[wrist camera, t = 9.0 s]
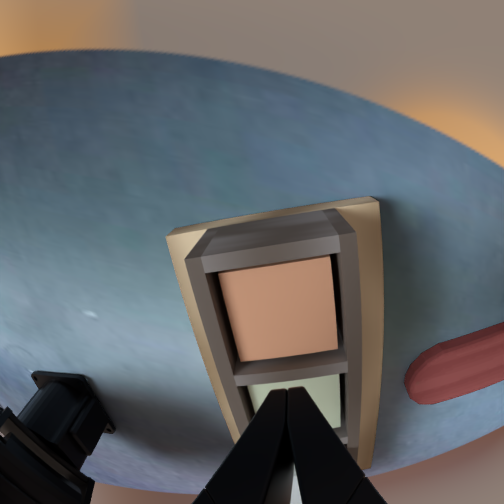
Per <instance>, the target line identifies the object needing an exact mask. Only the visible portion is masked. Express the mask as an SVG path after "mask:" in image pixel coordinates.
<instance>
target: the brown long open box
mask: <svg viewBox="0 0 504 504" xmlns="http://www.w3.org/2000/svg"><path fill="white" fill-rule="evenodd" d="M166 240H167V244H168V247H169V251H170V255H171V258H172V262H173V265H174V269H175V272H176V276H177V279H178V283H179V286H180V290H181V293H182V296H183V300H184V303H185V306H186V309H187V313H188V316H189V319H190V322H191V325H192V328H193V331H194V334H195V337H196V340H197V343H198V346H199V349H200V352H201V355H202V358H203V361H204V364H205V367H206V370H207V373H208V375H209V378H210V381H211V384H212V387H213V389H214V392H215V395H216V397H217V400H218V403H219V405H220V408H221V411H222V413H223V416H224V418H225V421H226V424H227V426H228V429H229V431H230V434H231V436H232V439H233V441H234V443H235V444H236V442H237V441H238V439H239V438H240V436H241V435H242V433H243V432H244V430H245V429H246V427H247V426H248V424H249V423H250V421H251V420H252V418H253V417H254V415H255V411H254V408H253V404H252V401H251V397H250V394H249V390H248V386H247V385H258V384H268V383H277V382H286V381H294V380H301V379H309V378H316V377H322V376H328V375H335V374H339V383H340V425H341V427H337V428H333V430H334V431H335V433H336V434H337V435H338V437H339V438H340V440H341V441H342V443H343V444H344V445H345V447H346V448H347V450H348V451H349V453H350V454H351V455H352V457H353V458H354V460H355V461H356V463H357V464H358V465H359V467H360V468H361V470H363V469H368V468H371V463H372V457H373V450H374V443H375V436H376V428H377V420H378V411H379V401H380V389H381V376H382V359H383V334H384V277H383V251H382V234H381V221H380V209H379V201H377V200H375V199H374V198H372V197H370V196H367V197H360V198H353V199H346V200H339V201H333V202H326V203H319V204H313V205H306V206H300V207H294V208H287V209H281V210H275V211H269V212H263V213H257V214H251V215H245V216H240V217H234V218H228V219H223V220H217V221H212V222H206V223H201V224H195V225H190V226H185V227H180V228H175V229H174V230H173V231H171V232H170V233H169V234H168V235H167V236H166ZM327 254H329V255H330V260H331V270H332V280H333V290H334V302H335V314H336V327H337V342H338V349H334V350H328V351H322V352H315V353H309V354H302V355H294V356H287V357H279V358H271V359H262V360H253V361H243V362H241V361H240V358H239V354H238V350H237V346H236V343H235V339H234V335H233V331H232V328H231V324H230V320H229V316H228V312H227V308H226V304H225V300H224V296H223V292H222V288H221V284H220V280H219V276H218V272H219V271H223V270H230V269H236V268H243V267H250V266H256V265H263V264H269V263H276V262H282V261H289V260H295V259H301V258H308V257H314V256H320V255H327Z"/></svg>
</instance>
